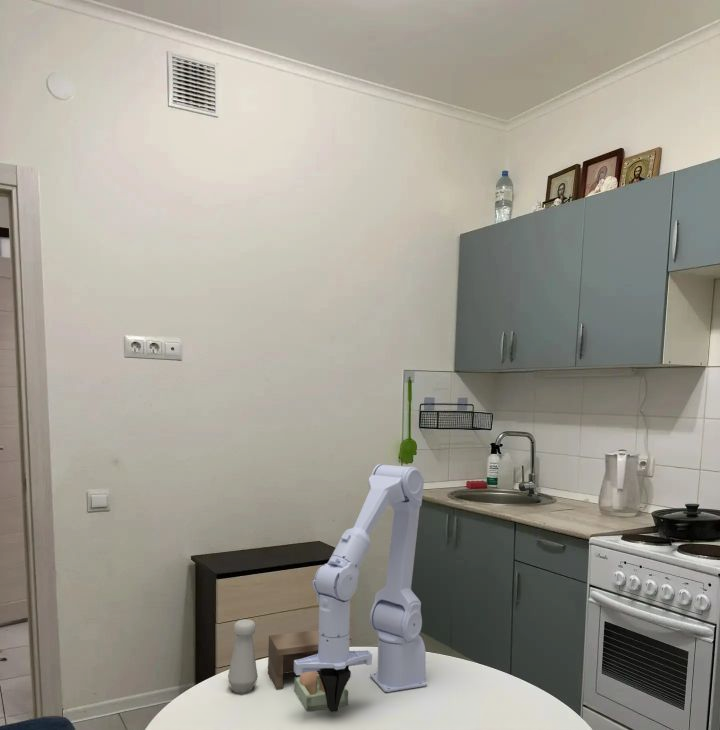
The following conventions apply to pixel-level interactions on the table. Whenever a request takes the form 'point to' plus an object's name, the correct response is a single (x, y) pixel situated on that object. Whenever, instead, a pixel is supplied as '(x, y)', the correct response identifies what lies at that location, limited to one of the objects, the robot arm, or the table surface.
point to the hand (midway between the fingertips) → (332, 709)
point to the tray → (315, 698)
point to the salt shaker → (243, 658)
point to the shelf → (289, 653)
